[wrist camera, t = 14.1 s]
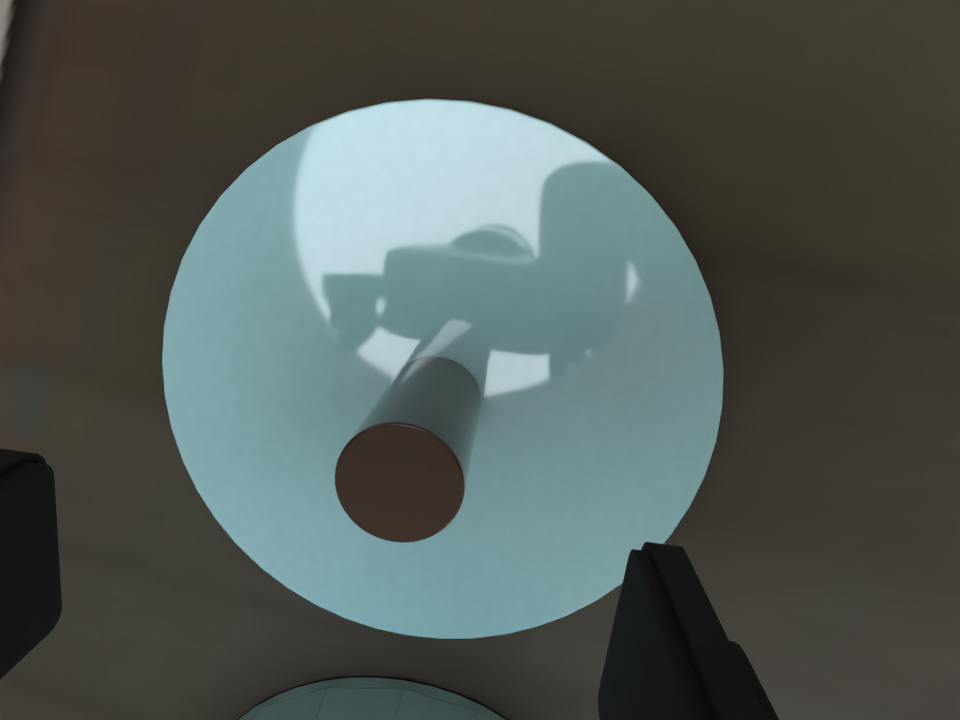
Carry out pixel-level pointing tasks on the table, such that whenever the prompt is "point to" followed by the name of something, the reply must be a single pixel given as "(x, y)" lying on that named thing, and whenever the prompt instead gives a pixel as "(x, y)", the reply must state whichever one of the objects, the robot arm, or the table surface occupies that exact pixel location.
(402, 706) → the pot
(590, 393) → the lid
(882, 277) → the table surface
